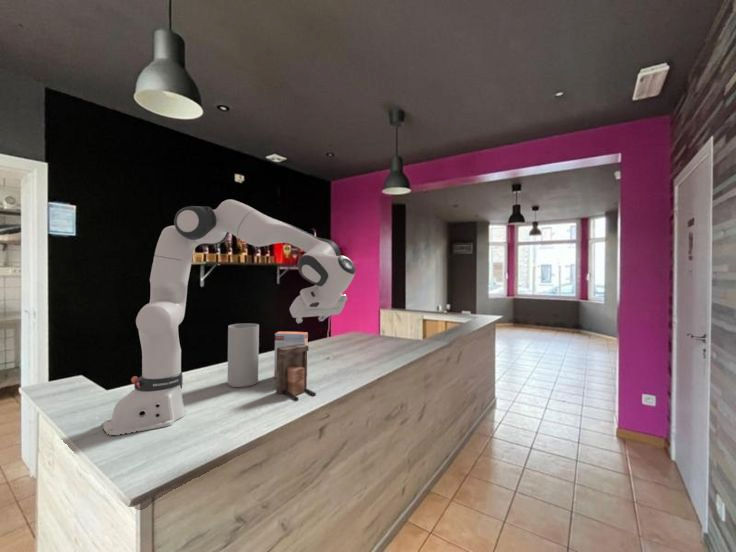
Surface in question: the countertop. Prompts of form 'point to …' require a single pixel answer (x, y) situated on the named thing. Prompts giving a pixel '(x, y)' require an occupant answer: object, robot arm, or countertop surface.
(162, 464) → the countertop surface
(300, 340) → the cracker box
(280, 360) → the cubby
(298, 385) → the block
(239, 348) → the cylinder vase
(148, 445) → the countertop surface
